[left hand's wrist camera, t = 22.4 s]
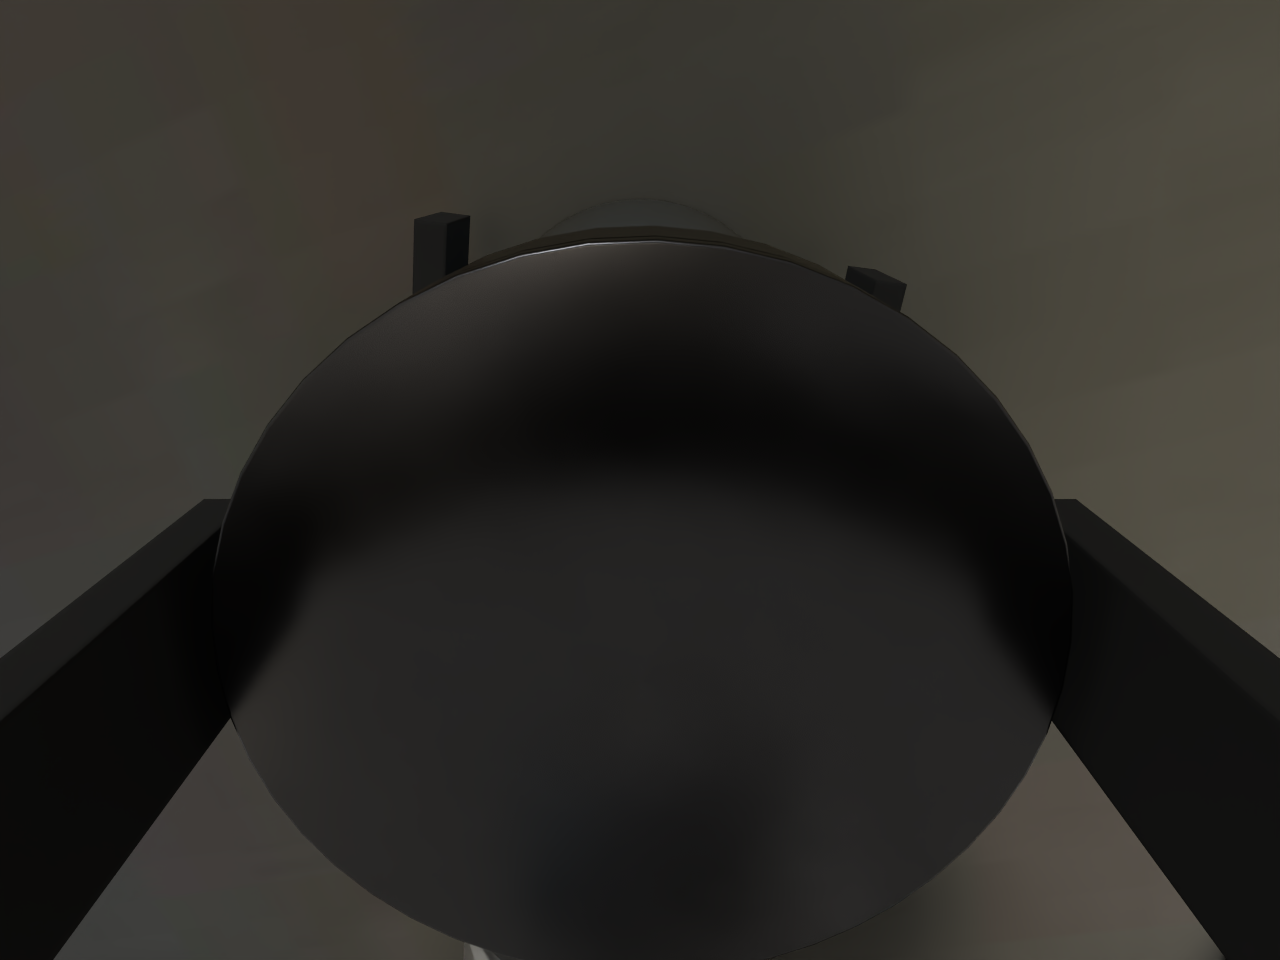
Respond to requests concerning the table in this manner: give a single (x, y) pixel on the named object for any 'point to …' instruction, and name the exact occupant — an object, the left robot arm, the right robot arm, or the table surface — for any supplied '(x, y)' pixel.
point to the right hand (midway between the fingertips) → (662, 246)
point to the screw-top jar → (640, 217)
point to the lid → (642, 602)
